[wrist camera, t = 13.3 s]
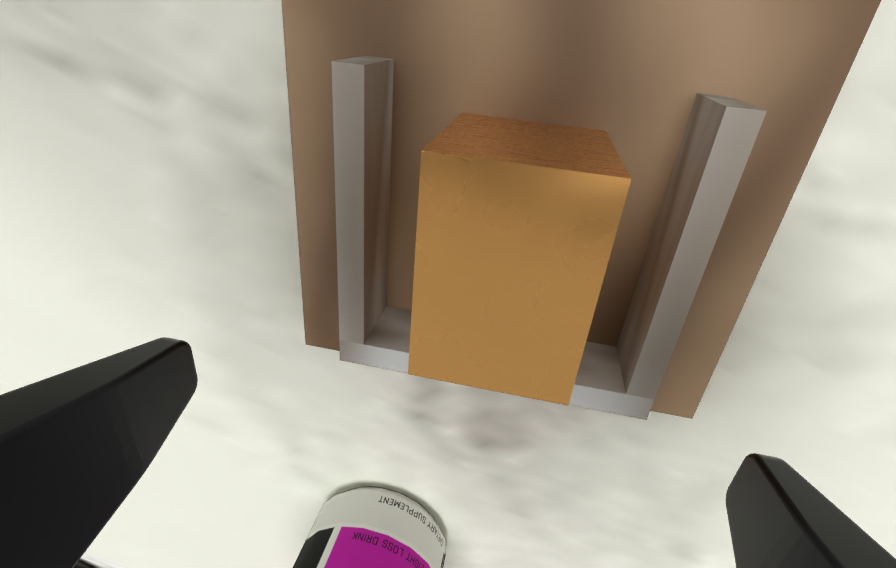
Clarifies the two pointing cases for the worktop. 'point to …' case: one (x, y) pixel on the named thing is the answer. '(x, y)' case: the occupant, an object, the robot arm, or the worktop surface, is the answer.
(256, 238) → the worktop surface
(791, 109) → the bracket board
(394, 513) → the supplement can
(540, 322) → the block
